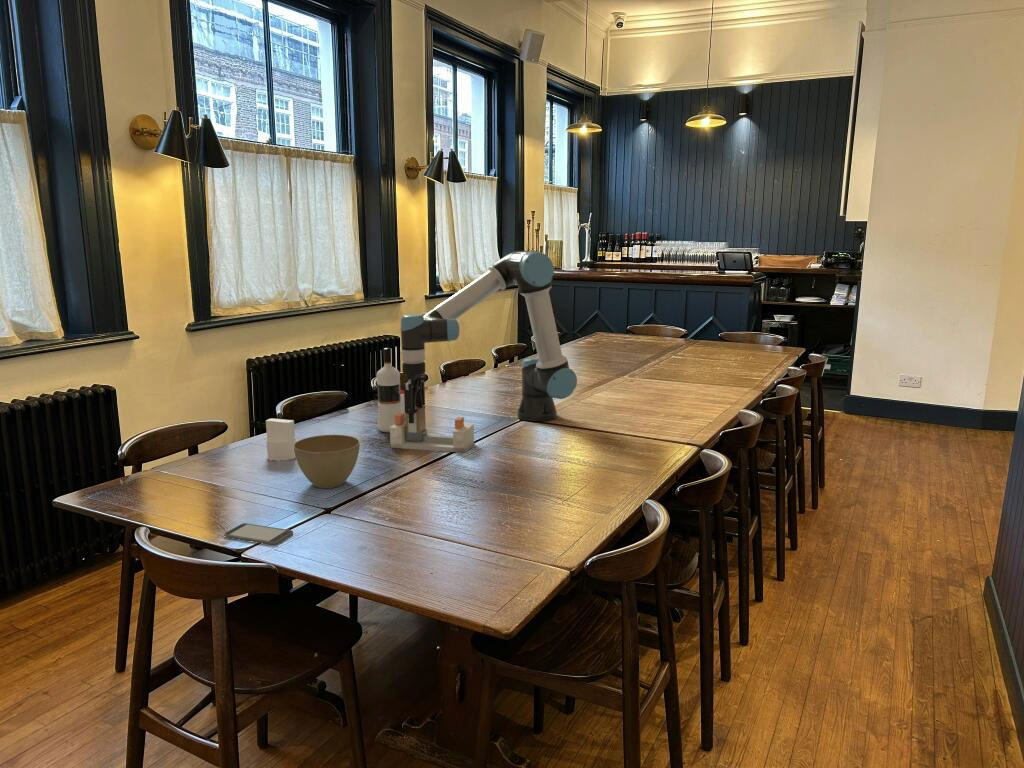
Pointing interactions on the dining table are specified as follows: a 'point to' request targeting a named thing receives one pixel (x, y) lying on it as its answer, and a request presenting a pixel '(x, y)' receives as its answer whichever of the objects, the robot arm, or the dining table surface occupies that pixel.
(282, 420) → the base with upright slab
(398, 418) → the gauge plunger
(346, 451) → the tan bowl
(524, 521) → the dining table surface
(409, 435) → the carriage
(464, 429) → the linear slide base
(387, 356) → the vodka
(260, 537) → the smartphone
